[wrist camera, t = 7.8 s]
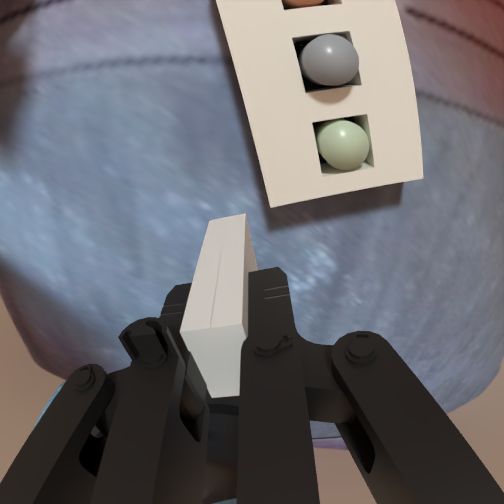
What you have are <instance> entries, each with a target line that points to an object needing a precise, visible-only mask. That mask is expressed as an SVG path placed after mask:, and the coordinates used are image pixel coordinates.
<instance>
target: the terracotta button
mask: <svg viewBox="0 0 504 504" xmlns="http://www.w3.org/2000/svg"><path fill="white" fill-rule="evenodd" d="M281 1H282V5H283V6H284V7H285V8H286V9H288V10H290V9H297V8H305V7H314V6H319V5H320V4H321V3H322V2H323V1H324V0H281Z"/></svg>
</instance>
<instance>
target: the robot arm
mask: <svg viewBox="0 0 504 504" xmlns="http://www.w3.org/2000/svg"><path fill="white" fill-rule="evenodd" d="M118 338H119V339H120V341H121V343H122V345H123V346H124V348H125V350H126V351H127V353H128V354H129V356H130V358H131V359H132V362H131V365H130V367H127V368H125V369H122V370H119V371H115V372H112V373H109V374H107V373H106V372H105V371H104V369H103V368H102V367H101V366H99V365H97V364H88V365H84V366H82V367H80V368H78V369H77V370H75V371H74V372H73V373H72V374H71V375H70V376H69V378H68V379H67V380H66V381H65V382H63V383H62V384H61V385H60V386H59V387H58V389H57V390H56V391H55V392H54V394H53V395H52V397H51V398H50V400H49V401H48V403H47V405H46V406H45V408H44V409H43V411H42V413H41V415H40V416H39V418H38V420H37V422H36V424H35V426H34V428H33V430H32V432H31V434H30V435H29V437H28V439H27V440H26V442H25V443H24V445H23V447H22V448H21V450H20V451H19V453H18V455H17V456H16V458H15V459H14V461H13V463H12V464H11V466H10V468H9V469H8V471H7V473H6V475H5V476H4V478H3V480H2V481H1V483H0V504H320V500H319V492H318V484H317V475H316V467H315V459H314V451H313V443H312V436H311V428H310V421H309V420H311V421H320V422H330V423H335V425H336V427H337V429H338V431H339V432H340V434H341V436H342V438H343V440H344V442H345V444H346V446H347V448H348V450H349V451H350V453H351V455H352V457H353V459H354V461H355V463H356V465H357V467H358V469H359V470H360V472H361V474H362V476H363V478H364V480H365V482H366V484H367V486H368V487H369V489H370V491H371V493H372V495H373V497H374V499H375V501H376V502H377V504H504V493H503V491H502V490H501V488H500V487H499V485H498V484H497V482H496V481H495V480H494V478H493V477H492V475H491V474H490V473H489V471H488V470H487V468H486V467H485V466H484V464H483V463H482V461H481V460H480V459H479V457H478V456H477V455H476V453H475V452H474V450H473V449H472V448H471V446H470V445H469V444H468V443H467V441H466V440H465V438H464V437H463V436H462V434H460V432H459V430H458V429H457V428H456V427H455V425H454V424H453V423H452V421H451V420H450V419H449V417H448V416H447V415H446V413H445V412H444V411H443V410H442V408H441V407H440V406H439V404H438V403H437V402H436V401H435V399H434V398H433V397H432V396H431V394H430V393H429V392H428V390H427V389H426V388H425V387H424V385H423V384H422V383H421V382H420V380H419V379H418V378H417V377H416V375H415V374H414V373H413V372H412V371H411V369H410V368H409V367H408V366H407V364H406V363H405V362H404V361H403V360H402V358H401V357H400V356H399V355H398V353H397V352H396V351H395V350H394V349H393V347H392V346H391V345H390V344H389V343H388V341H387V340H385V339H384V338H383V337H382V336H380V335H379V334H376V333H373V332H370V331H356V332H352V333H348V334H346V335H344V336H343V337H341V338H339V339H338V340H337V342H336V343H335V344H334V345H321V344H314V343H311V342H309V341H306V340H305V339H304V338H302V337H301V336H300V335H299V334H298V332H297V330H296V327H295V322H294V316H293V310H292V305H291V299H290V293H289V287H288V281H287V276H286V274H285V273H284V272H283V271H282V270H281V269H280V268H279V267H275V268H270V269H264V270H258V267H257V262H256V258H255V253H254V249H253V245H252V240H251V236H250V231H249V227H248V222H247V218H246V213H245V214H240V215H235V216H230V217H225V218H220V219H214V220H210V221H209V224H208V228H207V231H206V235H205V238H204V242H203V245H202V249H201V252H200V256H199V260H198V263H197V267H196V271H195V274H194V278H193V282H192V283H187V284H181V285H176V286H175V287H174V288H173V289H172V290H171V291H170V292H169V294H168V295H167V297H166V300H165V303H164V307H163V308H162V311H161V316H160V317H159V318H156V317H148V318H144V319H140V320H137V321H135V322H133V323H131V324H130V325H129V326H127V327H126V328H125V329H124V330H123V331H122V332H121V334H120V335H119V337H118Z"/></svg>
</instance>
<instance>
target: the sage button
mask: <svg viewBox="0 0 504 504" xmlns="http://www.w3.org/2000/svg"><path fill="white" fill-rule="evenodd" d="M314 135H315V140H316V145H317V150H318V152H319V153H320V154H321V155H322V157H323V158H324V159H325V160H326V161H327V162H328V163H329V164H330V165H331V166H333V167H334V168H337V169H340V170H351V169H354V168H356V167H358V166H359V165H361V164H362V163H363V162H364V160H365V159H366V157H367V155H368V152H369V140H368V137H367V135H366V133H365V131H364V130H363V129H362V128H361V127H360V126H358V125H357V124H354V123H352V122H350V121H348V120H345V119H343V118H337V119H330V120H324V121H320V122H319V123H318V124H317V125H316V127H315V129H314Z"/></svg>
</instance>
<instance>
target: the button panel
mask: <svg viewBox="0 0 504 504" xmlns="http://www.w3.org/2000/svg"><path fill="white" fill-rule="evenodd" d="M216 3H217V6H218V9H219V13H220V16H221V20H222V23H223V27H224V30H225V34H226V37H227V41H228V45H229V48H230V52H231V55H232V59H233V63H234V66H235V70H236V74H237V77H238V81H239V85H240V89H241V92H242V96H243V100H244V104H245V108H246V111H247V115H248V119H249V123H250V127H251V131H252V135H253V139H254V142H255V146H256V150H257V154H258V158H259V162H260V166H261V171H262V175H263V179H264V183H265V187H266V191H267V195H268V199H269V203H270V208H272V207H277V206H281V205H286V204H291V203H296V202H300V201H305V200H310V199H315V198H320V197H325V196H330V195H335V194H340V193H345V192H350V191H356V190H361V189H366V188H372V187H377V186H383V185H388V184H394V183H399V182H405V181H411V180H417V179H423V164H422V149H421V138H420V127H419V118H418V110H417V103H416V95H415V89H414V83H413V77H412V71H411V66H410V60H409V56H408V51H407V46H406V42H405V37H404V33H403V29H402V25H401V21H400V17H399V13H398V10H397V6H396V3H395V0H327V3H328V5H324V6H314V7H305V8H297V9H290V10H284V8H283V5H282V1H281V0H216ZM326 34H333V35H338V36H341V37H343V38H345V39H346V40H348V41H349V42H350V43H351V44H352V45H353V46H354V48H355V49H356V51H357V53H358V57H359V68H358V71H357V73H356V75H355V76H354V77H353V79H351V80H350V81H349V82H348V85H341V86H334V87H327V88H320V89H314V90H308V91H305V88H304V84H303V80H302V76H301V71H300V67H299V63H298V59H297V55H296V51H295V48H294V44H293V43H297V42H304V41H311V40H314V39H315V38H317V37H319V36H322V35H326ZM350 116H354V119H355V124H357V125H358V126H360V127H361V128H362V129H363V130H364V131H365V133H366V135H367V137H368V140H369V152H368V155H367V157H366V159H365V160H364V162H363V163H362V164H361V165H359V166H358V167H356V168H354V169H351V170H340V169H337V168H334V167H333V166H331V165H330V164H329V163H322V164H320V161H319V156H318V150H317V145H316V140H315V135H314V130H313V125H312V123H313V122H319V121H324V120H330V119H337V118H343V117H350Z"/></svg>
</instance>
